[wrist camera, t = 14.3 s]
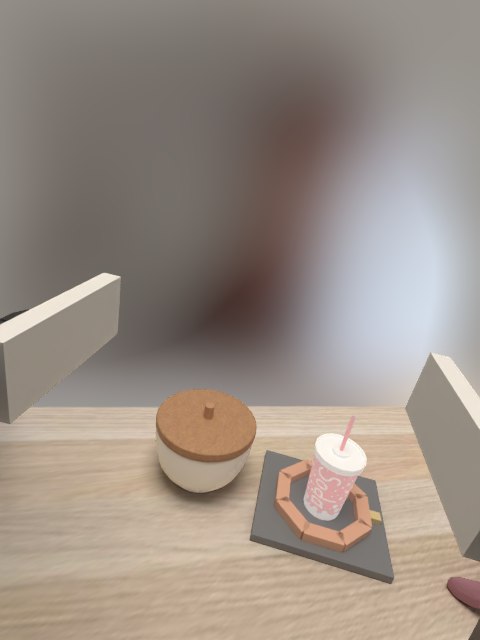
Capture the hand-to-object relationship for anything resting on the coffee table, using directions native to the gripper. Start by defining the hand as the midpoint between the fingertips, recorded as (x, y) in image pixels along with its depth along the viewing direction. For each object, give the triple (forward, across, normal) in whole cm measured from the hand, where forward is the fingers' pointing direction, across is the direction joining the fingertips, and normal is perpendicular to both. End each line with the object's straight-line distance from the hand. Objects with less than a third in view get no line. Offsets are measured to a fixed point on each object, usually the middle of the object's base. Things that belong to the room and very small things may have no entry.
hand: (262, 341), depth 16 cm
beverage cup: (+22, +12, -32) cm, 40 cm away
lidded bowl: (+23, -5, -33) cm, 40 cm away
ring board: (+22, +12, -32) cm, 41 cm away
